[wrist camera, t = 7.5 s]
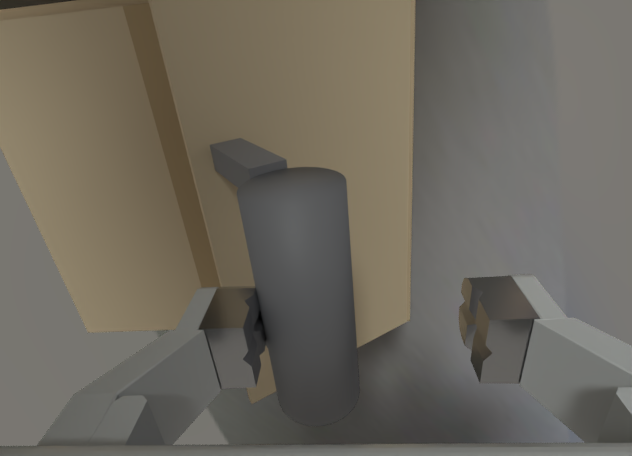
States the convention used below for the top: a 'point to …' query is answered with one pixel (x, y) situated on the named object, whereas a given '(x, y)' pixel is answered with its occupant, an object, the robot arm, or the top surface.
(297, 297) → the near flap
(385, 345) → the top surface
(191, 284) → the carton
